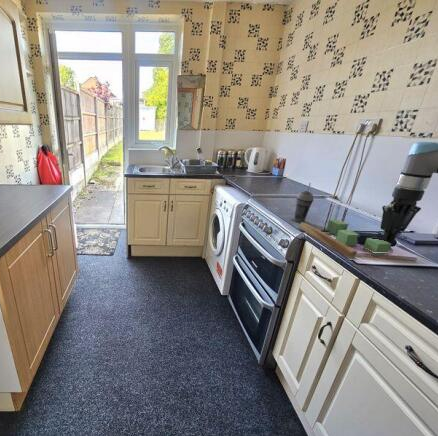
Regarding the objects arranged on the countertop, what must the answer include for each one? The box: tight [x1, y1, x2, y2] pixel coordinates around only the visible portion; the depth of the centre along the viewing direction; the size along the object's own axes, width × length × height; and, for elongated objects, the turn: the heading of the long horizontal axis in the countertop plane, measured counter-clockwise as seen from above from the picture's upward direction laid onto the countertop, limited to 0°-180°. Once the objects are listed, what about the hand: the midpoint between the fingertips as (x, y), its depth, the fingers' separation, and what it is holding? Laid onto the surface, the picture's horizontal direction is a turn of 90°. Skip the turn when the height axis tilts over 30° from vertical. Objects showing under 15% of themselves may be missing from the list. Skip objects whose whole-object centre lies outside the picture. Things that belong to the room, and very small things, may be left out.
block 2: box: [362, 237, 392, 257], centre depth 94 cm, size 5×5×5 cm
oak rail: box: [299, 221, 358, 260], centre depth 103 cm, size 2×28×3 cm, turn 5°
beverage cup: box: [293, 182, 314, 224], centre depth 121 cm, size 7×7×20 cm
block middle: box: [335, 229, 360, 247], centre depth 101 cm, size 5×5×5 cm
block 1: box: [326, 219, 349, 235], centre depth 112 cm, size 5×5×5 cm
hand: (384, 247), depth 95 cm, fingers closed
